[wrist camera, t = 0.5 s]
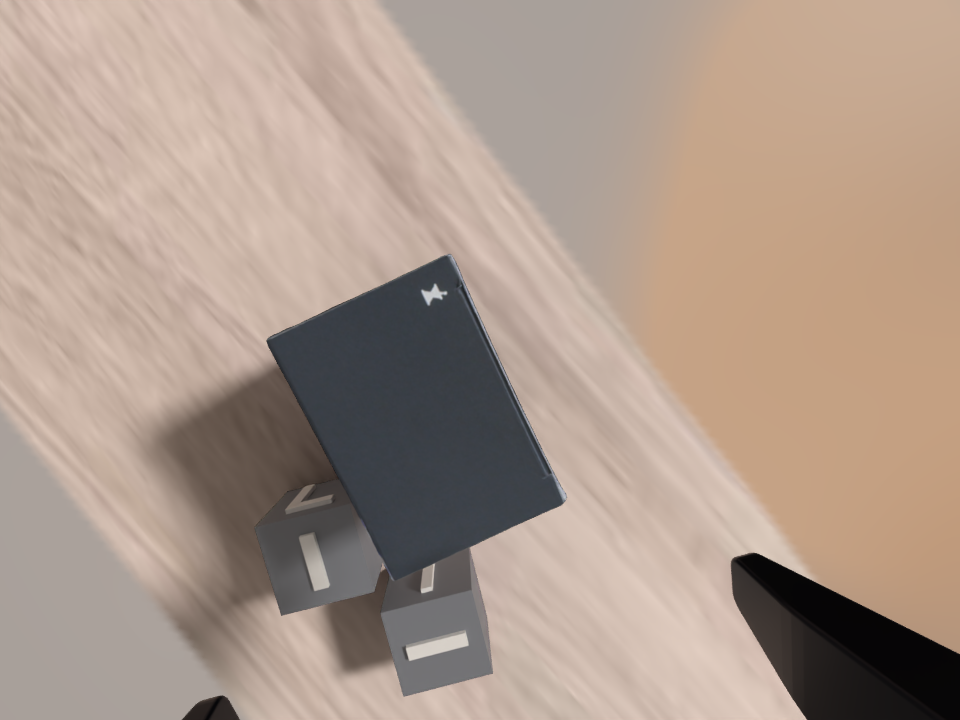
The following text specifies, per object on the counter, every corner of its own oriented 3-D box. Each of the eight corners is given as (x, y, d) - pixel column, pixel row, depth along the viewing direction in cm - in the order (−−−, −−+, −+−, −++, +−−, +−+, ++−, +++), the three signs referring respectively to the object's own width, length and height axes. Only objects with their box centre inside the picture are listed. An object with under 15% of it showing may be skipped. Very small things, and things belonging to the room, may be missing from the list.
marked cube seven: (387, 545, 24) (373, 594, 20) (309, 565, 24) (279, 618, 20) (366, 467, 24) (347, 501, 20) (286, 487, 24) (250, 525, 19)
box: (347, 324, 23) (257, 336, 12) (454, 274, 23) (455, 244, 12) (418, 467, 24) (390, 592, 13) (521, 419, 24) (574, 505, 13)
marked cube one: (486, 615, 25) (493, 676, 21) (411, 635, 25) (403, 700, 21) (468, 540, 24) (470, 588, 20) (391, 560, 24) (378, 611, 20)
